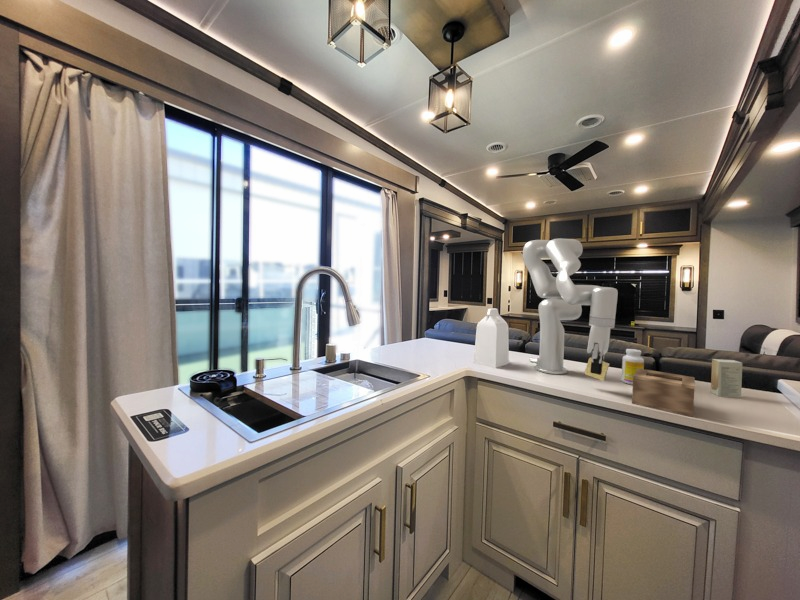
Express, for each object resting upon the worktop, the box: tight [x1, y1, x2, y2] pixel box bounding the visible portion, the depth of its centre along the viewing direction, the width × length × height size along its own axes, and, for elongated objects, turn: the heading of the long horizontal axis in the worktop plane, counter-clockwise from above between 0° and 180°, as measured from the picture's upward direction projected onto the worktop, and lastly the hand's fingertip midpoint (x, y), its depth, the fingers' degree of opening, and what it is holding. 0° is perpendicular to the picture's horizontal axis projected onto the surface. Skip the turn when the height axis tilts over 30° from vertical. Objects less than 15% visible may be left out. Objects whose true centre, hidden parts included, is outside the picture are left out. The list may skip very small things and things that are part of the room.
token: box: [584, 356, 610, 381], centre depth 109 cm, size 6×2×6 cm, turn 47°
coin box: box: [631, 368, 696, 418], centre depth 96 cm, size 14×12×9 cm
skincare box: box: [710, 358, 743, 399], centre depth 105 cm, size 6×4×12 cm
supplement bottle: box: [621, 348, 645, 386], centre depth 117 cm, size 7×7×13 cm
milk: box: [473, 308, 510, 369], centre depth 144 cm, size 12×12×26 cm
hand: (596, 372), depth 109 cm, fingers closed on token, 2 cm apart
